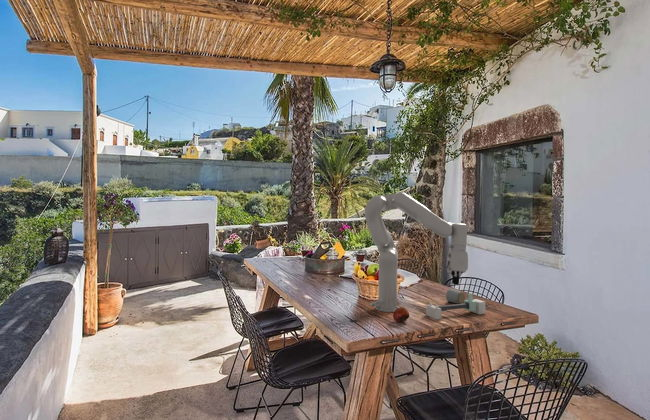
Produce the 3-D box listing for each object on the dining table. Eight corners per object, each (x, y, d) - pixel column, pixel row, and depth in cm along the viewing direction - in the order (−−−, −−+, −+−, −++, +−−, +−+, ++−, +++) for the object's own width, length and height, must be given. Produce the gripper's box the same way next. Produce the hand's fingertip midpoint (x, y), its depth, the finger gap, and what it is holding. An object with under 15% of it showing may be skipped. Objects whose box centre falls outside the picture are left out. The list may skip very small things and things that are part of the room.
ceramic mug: (458, 305, 213) (458, 291, 213) (445, 302, 219) (445, 288, 219) (469, 303, 219) (469, 289, 219) (456, 300, 226) (456, 286, 226)
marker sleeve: (469, 311, 196) (470, 294, 195) (464, 309, 200) (464, 292, 199) (476, 310, 197) (476, 294, 197) (470, 308, 201) (470, 292, 201)
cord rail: (436, 319, 186) (436, 306, 186) (426, 314, 194) (426, 302, 194) (486, 314, 197) (486, 301, 197) (475, 309, 204) (475, 298, 204)
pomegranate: (411, 328, 180) (403, 310, 188) (414, 318, 176) (406, 300, 183) (396, 330, 179) (389, 312, 186) (398, 321, 174) (391, 303, 182)
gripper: (450, 248, 189) (447, 286, 189) (475, 249, 194) (472, 285, 195) (440, 246, 196) (438, 282, 196) (465, 247, 201) (462, 282, 202)
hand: (455, 284), depth 196 cm, fingers closed
